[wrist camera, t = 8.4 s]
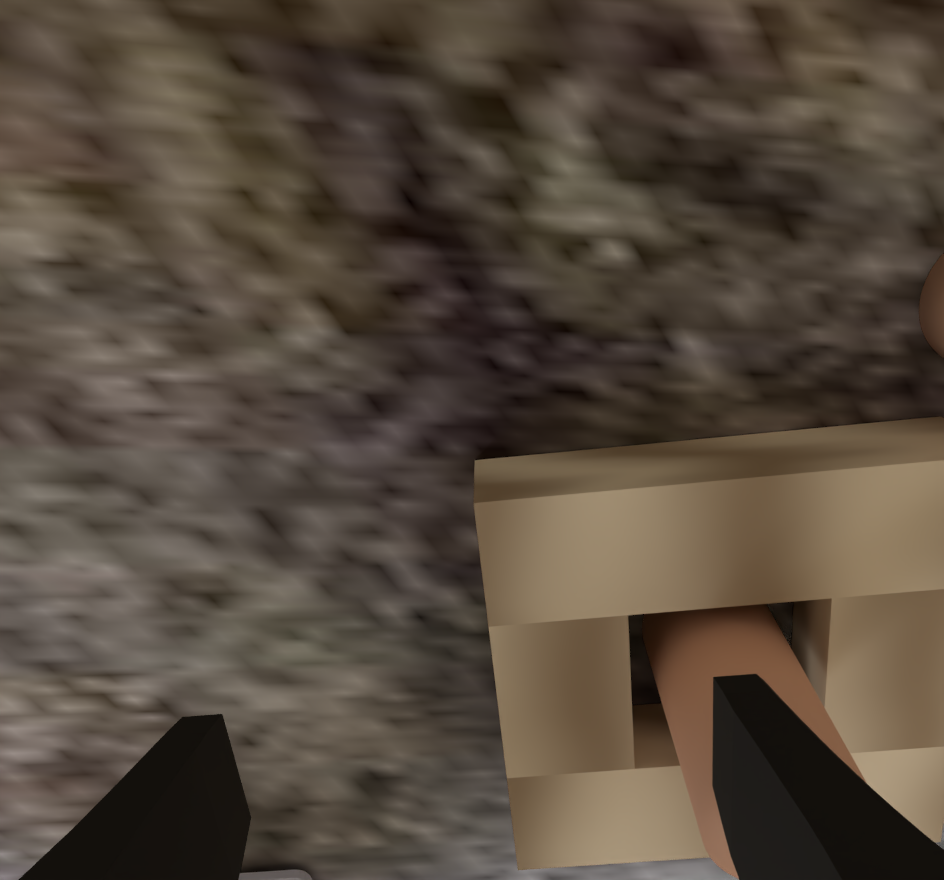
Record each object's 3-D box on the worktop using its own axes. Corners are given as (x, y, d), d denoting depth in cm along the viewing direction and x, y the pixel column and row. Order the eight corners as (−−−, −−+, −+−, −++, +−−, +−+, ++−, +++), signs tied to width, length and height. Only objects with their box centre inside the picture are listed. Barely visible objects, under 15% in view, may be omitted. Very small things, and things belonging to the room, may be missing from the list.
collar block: (514, 802, 26) (518, 869, 24) (474, 460, 22) (473, 503, 19) (899, 774, 25) (940, 841, 23) (940, 416, 21) (997, 455, 19)
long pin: (648, 684, 24) (707, 894, 18) (635, 581, 23) (695, 769, 17) (770, 667, 24) (875, 875, 18) (765, 562, 23) (877, 746, 16)
